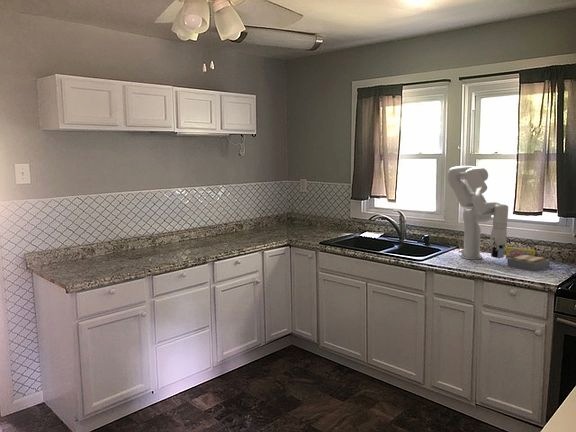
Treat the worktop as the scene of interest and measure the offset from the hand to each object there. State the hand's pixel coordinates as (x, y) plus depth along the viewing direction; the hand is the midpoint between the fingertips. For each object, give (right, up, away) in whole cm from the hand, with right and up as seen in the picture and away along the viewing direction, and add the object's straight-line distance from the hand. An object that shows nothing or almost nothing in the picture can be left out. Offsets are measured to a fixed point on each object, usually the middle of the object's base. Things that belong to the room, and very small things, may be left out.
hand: (497, 256), depth 288 cm
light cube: (0, -1, 0) cm, 1 cm away
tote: (+14, -6, -8) cm, 17 cm away
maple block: (+14, -5, -8) cm, 17 cm away
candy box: (+17, -4, +9) cm, 19 cm away
